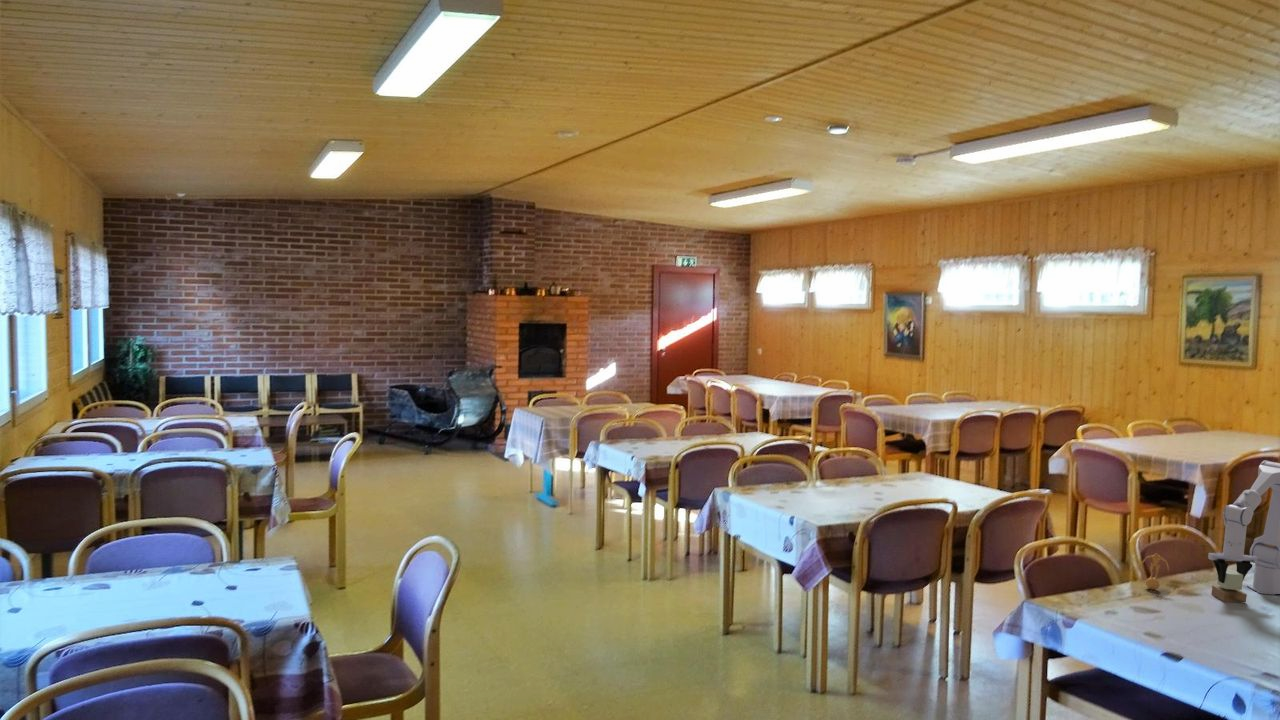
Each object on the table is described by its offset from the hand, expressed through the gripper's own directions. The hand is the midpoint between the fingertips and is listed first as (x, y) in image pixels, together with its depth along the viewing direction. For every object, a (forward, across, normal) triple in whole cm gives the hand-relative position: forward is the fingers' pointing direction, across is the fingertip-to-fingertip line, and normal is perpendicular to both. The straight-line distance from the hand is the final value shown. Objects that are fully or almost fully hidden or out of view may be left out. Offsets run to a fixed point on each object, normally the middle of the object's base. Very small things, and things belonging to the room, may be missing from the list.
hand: (1230, 582), depth 300 cm
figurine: (+6, -22, +6) cm, 23 cm away
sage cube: (+2, 0, 0) cm, 2 cm away
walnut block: (+5, 0, 0) cm, 5 cm away
